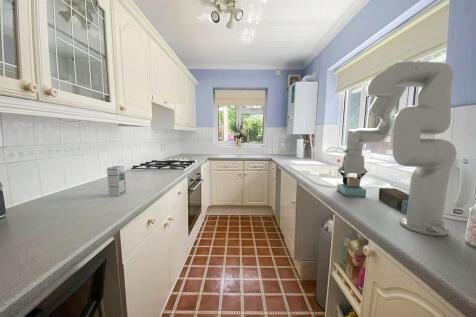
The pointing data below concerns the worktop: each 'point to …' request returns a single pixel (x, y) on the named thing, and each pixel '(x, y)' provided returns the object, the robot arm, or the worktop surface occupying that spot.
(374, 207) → the worktop surface
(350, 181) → the small crate
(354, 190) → the box
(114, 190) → the syrup box
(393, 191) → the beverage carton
